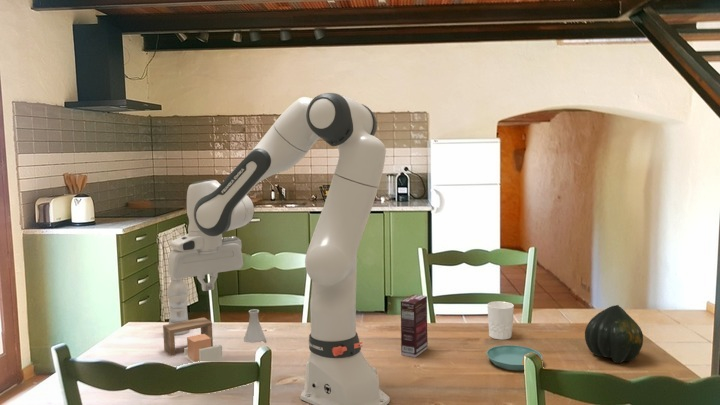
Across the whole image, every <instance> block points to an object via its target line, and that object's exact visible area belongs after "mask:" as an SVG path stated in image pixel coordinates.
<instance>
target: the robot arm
mask: <svg viewBox="0 0 720 405" xmlns="http://www.w3.org/2000/svg"><path fill="white" fill-rule="evenodd" d="M377 128H378V122H377V117H376V115H375V114H374V112H373V111H372V109H370V108H369V106H367V105H365V104H362V103H360V102H358V101H357V100H356V99H354V98H351V97H348V96H346V95H345V96H344V95H341V94H339V93H334V92H326V93H325V92H324V93H320V94H318V95H317V96H315V97H308V96H301V97H299V98H297V99H296V100H295V101H293V103H291V104H290V105H289V106H288V107H287V108H286V109H285V110H283V112H282V113H281V114H280V116H278V118H277V119H276V120H275V121H274V123H273V124H272V125H271V127H270V128H269V129H268V131H266V133H265V134H264V135H263V136H262V138H261V139H260V140H259V141H258V143H257V144H256V145H255V147H253V149H252V150H251V151H249V153H248V155H246V156H245V158H244V159H242V160H241V162H240V163H239V164H238V165H237V166H236V167H235V168H234V169H233V170H232V172H230V174H229V175H227V177H226V178H225V179H224V180H223V181H222V183H220V182H218V180H216V179H204V180H198V181H195V182H194V181H193V182H192V183H191V184H189V185H188V188H187V193H186V214H187V217H188V226H187V232H188V233H186V234H184V235H182V236H179V237H177V238H176V239H175V238H174V239H173V240H171V241H170V248H171V249H172V250H171V251H170V253H169V254H168V261H167V262H168V263H167V270H168V276H169V277H170V279H171V278H173V279H181V278H183V279H186V278H192V277H196V279H197V280H198V282H199V283H200V284H201V291H203V292H207V291H212V290H215V283H216V281H217V279H218V276H219V273H222V272H223V273H225V272H230V271H231V272H232V271H237V270H241V269H243V267H244V257H243V253H242V252H243V251H242V247H243V246H242V244H243V243H242V240H241V239H240V238H239V237H237V236H236V235H235V236H234V235H233V236H226V237H225V236H224V237H223V234H224V233H227V232H230V231H233V230H236V229H238V228H243V227H244V226H246V225H249V224H250V223H251V221H252V220H253V218H254V215H255V205H254V203H253V200H252V198H251V197H250V196H249V195H248V194H249V193H250V192H251V191H252V190H253V189H254V187H255V186H256V185H258V184H259V183H260V182H262V181H264V180H266V179H267V178H270V177H272V176H274V175H276V174H280V173H282V172H285V171H288V170H290V169H292V168H293V167H294V166H296V165H297V164H298V163H299V162H300V161H301V160H303V158H305V156H306V155H307V154H308V153H309V151H310V150H311V149H312V148H313V146H314V145H315V144H316V143H317V142H318V141H319V140H320V139H322V140H323V141H325V143H327V144H328V145H329V146H331V147H337V149H338V160H337V164H336V167H335V169H334V173H333V176H332V179H331V182H330V185H329V189H328V192H327V194H326V198H325V201H324V204H323V207H322V210H321V212H320V215H319V217H318V220H317V223H316V225H315V228H314V231H313V233H312V237H311V240H310V241H309V242H310V243H309V245H308V248H307V250H306V254H305V259H304V264H305V265H304V266H305V270H306V273H307V276H308V277H309V278H310V280H311V292H310V294H311V295H310V300H309V301H310V302H309V306H310V312H309V313H310V334H308V335H309V336H308V338H309V339H308V350H309V351H310V354H309V357H308V359H307V361H306V363H305V371H304V372H305V373H304V374H305V375H304V388H303V389H304V390H303V391H302V392H300V400H302V401H304V402H306V403H308V404H310V405H388V404H389V403H390V401H391V398H390V396H389V395H388V394H387V393H385V392H384V391H383V390H382V389H380V381H379V377H378V371H377V368H376V367H375V366H372V365H371V364H370V362H368V360H367V359H366V357H365V356H364V354H363V353H362V351H361V350H362V347H363V345H362V344H363V341H361V342H360V338H359V335H358V332H357V319H356V317H357V309H356V307H357V306H356V305H357V304H356V301H357V300H356V299H357V296H356V295H357V270H358V269H357V268H358V264H357V263H358V250H359V247H360V244H361V242H362V238H363V236H364V232H365V229H366V226H367V223H368V220H369V218H370V214H371V211H372V208H373V205H374V202H375V199H376V196H377V193H378V191H379V188H380V184H381V180H382V176H383V171H384V168H385V162H386V152H387V150H386V146H385V144H384V142H382V140H381V139H379V138H378V137H376V136H375V135H376V132H377ZM206 275H209V276H210V280H209V282H205V279H206V277H205V276H206Z"/></svg>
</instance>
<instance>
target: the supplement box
mask: <svg viewBox="0 0 720 405" xmlns="http://www.w3.org/2000/svg"><path fill="white" fill-rule="evenodd" d="M400 343H401V344H400V346H401V348H400V350H401V355H402V356H406V357H409V358H410V357H411V358H416V357H418V356H419V355H420V354H422V353H423V352H425V351H426V350H427V349H428V346H429V345H428V296H427V295H421V294H412V295H410V296H408V297H406V298H404V299H402V300H400Z"/></svg>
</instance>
